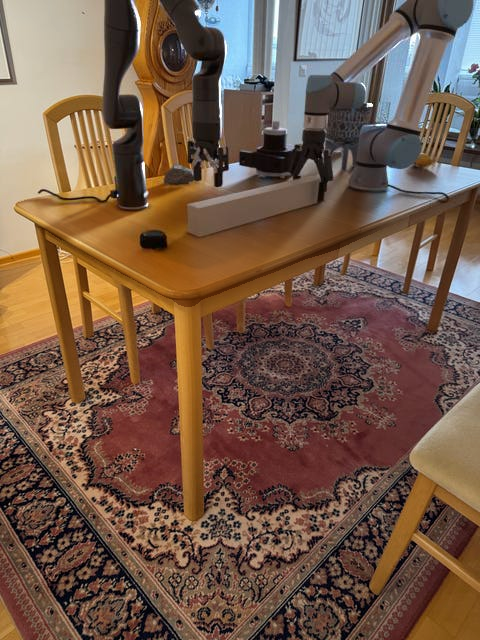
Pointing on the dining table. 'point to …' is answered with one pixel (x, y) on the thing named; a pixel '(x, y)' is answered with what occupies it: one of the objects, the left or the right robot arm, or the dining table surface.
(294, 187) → the bar
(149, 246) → the tape measure
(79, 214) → the dining table surface
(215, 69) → the left robot arm
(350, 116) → the planter
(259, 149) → the mechanical component
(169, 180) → the rock
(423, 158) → the toy
